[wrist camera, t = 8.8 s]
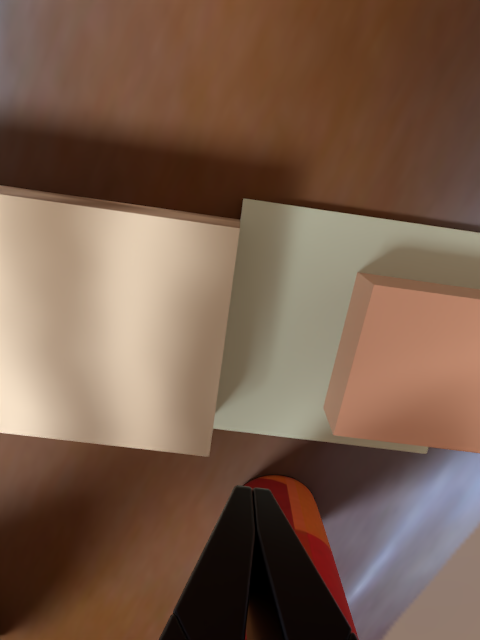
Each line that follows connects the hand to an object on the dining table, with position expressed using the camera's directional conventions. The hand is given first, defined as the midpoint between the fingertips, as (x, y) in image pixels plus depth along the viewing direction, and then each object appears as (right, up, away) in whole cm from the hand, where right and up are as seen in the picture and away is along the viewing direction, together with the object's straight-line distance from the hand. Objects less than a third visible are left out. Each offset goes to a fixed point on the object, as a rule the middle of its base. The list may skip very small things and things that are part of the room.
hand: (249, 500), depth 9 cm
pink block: (+9, +2, +9) cm, 13 cm away
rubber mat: (+5, +3, +11) cm, 13 cm away
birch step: (-8, +5, +11) cm, 14 cm away
